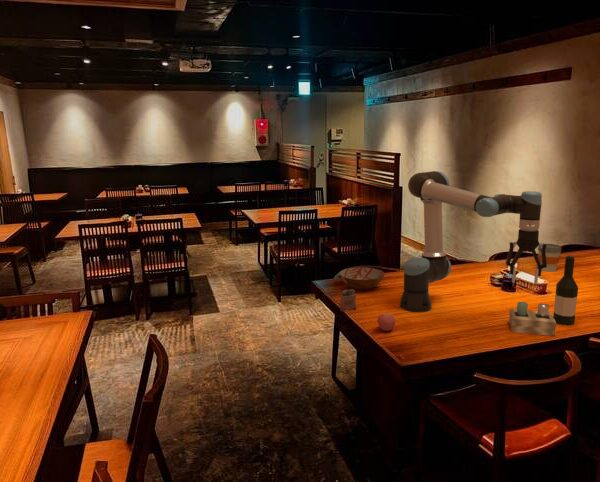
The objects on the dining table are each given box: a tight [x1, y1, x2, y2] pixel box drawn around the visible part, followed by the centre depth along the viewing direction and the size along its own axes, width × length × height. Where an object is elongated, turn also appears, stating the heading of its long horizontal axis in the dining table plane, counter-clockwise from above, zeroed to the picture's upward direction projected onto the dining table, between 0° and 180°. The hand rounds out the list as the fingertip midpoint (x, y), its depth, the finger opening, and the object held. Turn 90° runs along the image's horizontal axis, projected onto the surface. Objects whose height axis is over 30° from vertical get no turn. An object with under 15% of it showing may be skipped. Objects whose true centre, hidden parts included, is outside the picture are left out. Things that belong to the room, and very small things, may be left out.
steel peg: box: [537, 302, 550, 319], centre depth 195 cm, size 4×4×6 cm
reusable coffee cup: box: [537, 243, 562, 273], centre depth 283 cm, size 12×12×15 cm
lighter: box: [339, 288, 357, 312], centre depth 224 cm, size 8×3×10 cm, turn 105°
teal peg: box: [516, 301, 529, 317], centre depth 198 cm, size 4×4×6 cm
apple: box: [377, 312, 396, 332], centre depth 199 cm, size 7×7×8 cm
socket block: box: [508, 308, 557, 337], centre depth 198 cm, size 16×12×6 cm
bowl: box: [338, 266, 386, 291], centre depth 259 cm, size 25×25×8 cm
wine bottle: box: [552, 254, 579, 326], centre depth 202 cm, size 8×8×30 cm
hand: (524, 282), depth 195 cm, fingers open, 8 cm apart
